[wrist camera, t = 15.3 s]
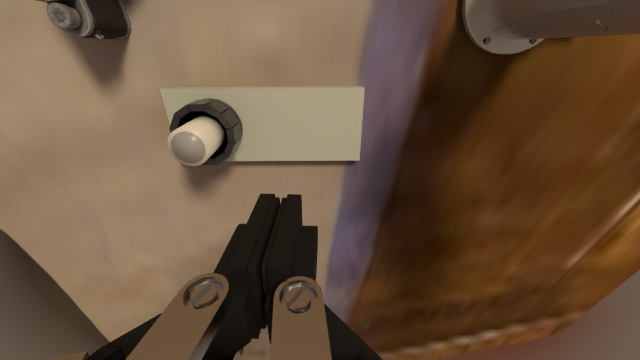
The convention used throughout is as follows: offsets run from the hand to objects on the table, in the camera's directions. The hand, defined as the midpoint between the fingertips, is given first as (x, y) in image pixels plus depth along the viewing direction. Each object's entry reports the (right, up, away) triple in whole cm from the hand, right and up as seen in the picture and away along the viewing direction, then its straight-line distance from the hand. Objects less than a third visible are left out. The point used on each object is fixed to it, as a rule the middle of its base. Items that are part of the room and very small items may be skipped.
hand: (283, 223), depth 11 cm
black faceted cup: (-13, +9, +24) cm, 29 cm away
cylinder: (-13, +9, +23) cm, 28 cm away
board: (-6, +10, +25) cm, 28 cm away
